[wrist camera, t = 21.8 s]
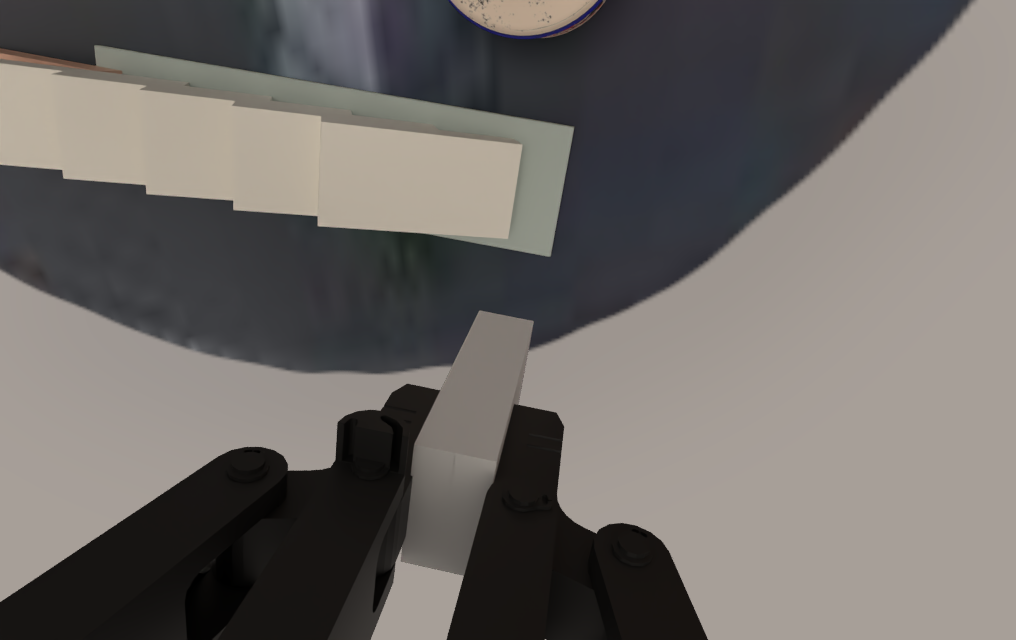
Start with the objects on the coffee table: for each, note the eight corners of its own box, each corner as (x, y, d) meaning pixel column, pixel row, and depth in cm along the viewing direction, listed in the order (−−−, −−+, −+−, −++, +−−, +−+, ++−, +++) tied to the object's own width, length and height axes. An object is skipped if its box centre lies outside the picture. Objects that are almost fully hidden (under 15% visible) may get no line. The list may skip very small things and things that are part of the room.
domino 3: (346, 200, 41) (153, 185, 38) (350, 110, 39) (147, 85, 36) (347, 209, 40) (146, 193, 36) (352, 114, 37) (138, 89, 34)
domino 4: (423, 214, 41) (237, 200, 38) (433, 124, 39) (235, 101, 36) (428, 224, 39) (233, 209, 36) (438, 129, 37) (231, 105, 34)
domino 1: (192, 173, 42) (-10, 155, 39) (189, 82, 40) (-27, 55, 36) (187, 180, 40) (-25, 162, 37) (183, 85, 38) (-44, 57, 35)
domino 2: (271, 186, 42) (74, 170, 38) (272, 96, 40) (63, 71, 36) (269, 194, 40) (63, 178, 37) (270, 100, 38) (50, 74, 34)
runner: (112, 172, 43) (106, 174, 43) (101, 45, 40) (94, 45, 40) (550, 254, 41) (550, 256, 41) (574, 126, 38) (574, 127, 38)
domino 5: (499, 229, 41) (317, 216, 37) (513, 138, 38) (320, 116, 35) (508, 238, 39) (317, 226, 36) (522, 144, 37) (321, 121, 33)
